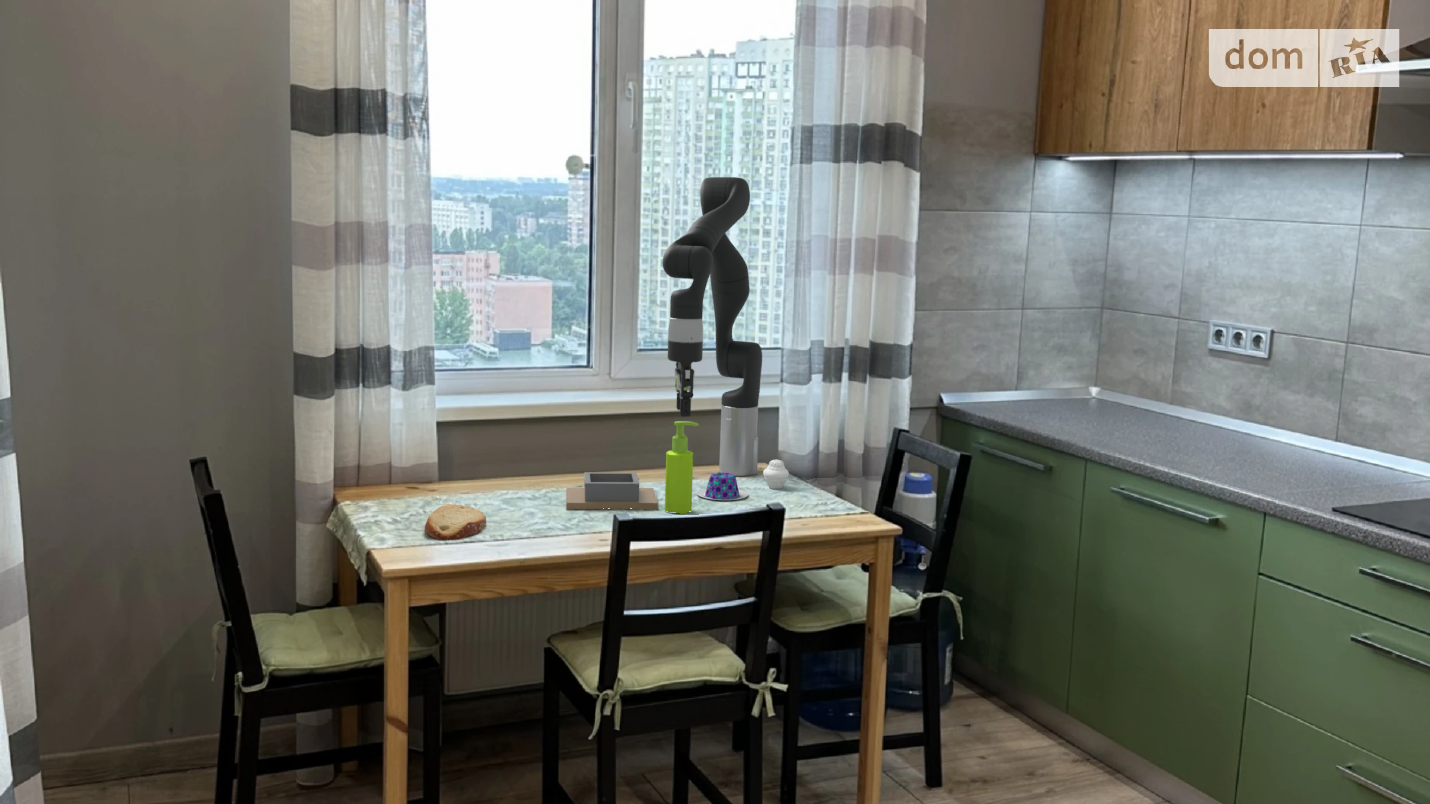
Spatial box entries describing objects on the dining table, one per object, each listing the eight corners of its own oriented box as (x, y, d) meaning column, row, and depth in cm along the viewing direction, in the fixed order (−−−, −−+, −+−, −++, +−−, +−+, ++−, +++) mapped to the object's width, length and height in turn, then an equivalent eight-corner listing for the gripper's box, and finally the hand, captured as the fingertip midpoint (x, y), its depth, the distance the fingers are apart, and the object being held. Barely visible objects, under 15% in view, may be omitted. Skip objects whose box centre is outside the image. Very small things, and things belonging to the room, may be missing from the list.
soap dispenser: (695, 514, 269) (698, 424, 266) (664, 513, 269) (666, 423, 266) (696, 508, 275) (699, 419, 271) (665, 506, 275) (668, 418, 271)
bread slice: (459, 511, 267) (459, 494, 266) (514, 528, 255) (514, 510, 255) (389, 526, 253) (389, 509, 252) (444, 544, 242) (444, 526, 241)
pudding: (686, 498, 285) (687, 476, 284) (711, 488, 295) (712, 466, 294) (732, 505, 279) (733, 483, 278) (756, 495, 289) (757, 473, 289)
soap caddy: (653, 494, 286) (653, 471, 285) (657, 509, 272) (658, 485, 271) (566, 494, 283) (566, 470, 282) (566, 509, 270) (566, 485, 269)
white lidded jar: (788, 485, 299) (789, 457, 298) (787, 491, 293) (788, 462, 292) (763, 484, 300) (764, 455, 299) (761, 489, 294) (762, 461, 293)
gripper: (706, 343, 259) (704, 419, 262) (699, 335, 273) (696, 407, 276) (671, 342, 258) (668, 418, 261) (665, 334, 272) (663, 407, 275)
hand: (683, 412), depth 268 cm, fingers open, 8 cm apart
